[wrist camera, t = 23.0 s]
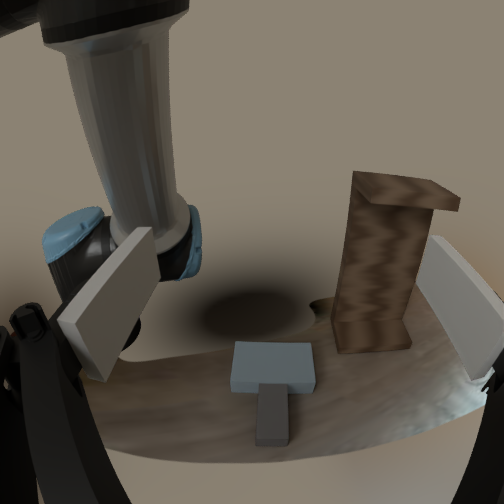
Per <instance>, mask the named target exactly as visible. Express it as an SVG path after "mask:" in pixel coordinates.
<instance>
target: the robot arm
mask: <svg viewBox="0 0 504 504" xmlns="http://www.w3.org/2000/svg"><path fill="white" fill-rule="evenodd" d="M188 10H189V0H0V38H1V37H3V36H5V35H8V34H10V33H12V32H15V31H17V30H19V29H23V28H25V27H27V26H29V25H32V24H34V23H37V22H40V26H41V31H42V37H43V42H44V45H45V46H46V47H49V48H52V49H54V50H57V51H59V52H62V53H63V54H64V55H65V56H66V61H67V66H68V70H69V75H70V79H71V84H72V88H73V92H74V96H75V99H76V104H77V107H78V111H79V115H80V118H81V122H82V125H83V128H84V132H85V135H86V138H87V141H88V144H89V147H90V151H91V154H92V157H93V159H94V162H95V165H96V168H97V171H98V174H99V176H100V179H101V182H102V184H103V187H104V190H105V192H106V195H107V198H108V200H109V203H110V205H111V208H112V210H113V213H112V216H104V212H103V211H102V209H101V208H100V207H87V208H84V209H81V210H78V211H75V212H73V213H71V214H69V215H67V216H65V217H63V218H61V219H59V220H58V221H56V222H55V223H54V224H53V225H51V226H50V227H49V228H48V229H47V230H46V232H45V233H44V235H43V238H42V245H43V250H44V254H45V258H46V263H47V264H48V267H49V269H50V272H51V275H52V277H53V280H54V283H55V285H56V288H57V290H58V293H59V295H60V297H61V300H62V302H63V303H62V304H61V306H60V307H59V308H58V309H57V310H56V312H55V313H54V314H53V315H52V317H51V318H50V319H49V320H47V318H46V316H45V314H44V312H43V310H42V307H41V306H40V305H39V304H38V303H33V302H32V303H27V304H25V305H23V306H20V307H19V308H18V309H16V310H15V311H14V312H13V314H12V315H11V317H10V320H9V322H10V324H11V326H12V327H13V329H14V331H15V333H16V334H17V336H14V337H11V336H10V334H9V332H8V331H7V329H6V328H5V327H4V326H0V504H39V502H38V492H37V480H38V484H39V487H40V490H41V494H42V497H43V500H44V503H45V504H132V503H131V502H130V500H129V498H128V496H127V494H126V492H125V490H124V488H123V487H122V485H121V483H120V481H119V479H118V477H117V475H116V472H115V470H114V468H113V466H112V464H111V462H110V459H109V457H108V455H107V452H106V450H105V448H104V445H103V443H102V440H101V438H100V435H99V432H98V430H97V427H96V424H95V422H94V419H93V416H92V413H91V410H90V407H89V404H88V401H87V397H86V394H85V391H84V387H83V384H82V380H81V379H80V377H79V375H78V374H79V372H80V370H81V369H82V368H83V369H84V371H85V373H86V374H87V376H88V378H91V379H95V380H99V381H102V382H106V381H107V379H108V377H109V375H110V373H111V371H112V369H113V367H114V365H115V363H116V360H117V358H118V356H119V355H120V353H121V351H123V350H125V349H126V348H127V347H129V346H130V345H131V344H132V343H133V342H134V341H135V340H136V338H137V336H138V335H139V332H140V329H141V321H140V318H139V316H140V314H141V312H142V311H143V309H144V307H145V305H146V303H147V302H148V300H149V298H150V296H151V294H152V292H153V291H154V289H155V287H156V285H157V284H158V282H164V281H171V280H174V281H180V280H182V279H184V278H190V277H193V276H195V275H196V274H197V273H198V272H199V269H200V266H201V260H202V250H201V246H202V234H201V223H200V218H199V213H198V210H197V208H196V207H195V206H193V205H188V204H187V203H186V201H185V200H184V198H183V197H182V196H181V195H179V194H178V193H177V192H176V181H175V170H174V159H173V147H172V134H171V118H170V96H169V50H168V48H169V40H168V39H169V38H168V37H169V29H170V28H171V26H172V25H173V24H174V23H175V22H176V21H178V20H179V19H180V18H181V17H182V16H184V15H185V14H186V13H187V12H188ZM416 284H417V286H418V287H419V289H420V290H421V292H422V293H423V295H424V297H425V298H426V300H427V301H428V303H429V305H430V306H431V308H432V309H433V311H434V313H435V314H436V316H437V318H438V319H439V321H440V323H441V324H442V326H443V328H444V330H445V331H446V333H447V335H448V337H449V338H450V340H451V342H452V344H453V346H454V348H455V349H456V351H457V353H458V355H459V357H460V359H461V361H462V363H463V365H464V367H465V369H466V371H467V373H468V375H469V377H470V379H471V381H472V380H476V379H479V378H482V377H484V376H485V375H486V374H487V372H488V371H489V370H490V368H491V367H493V369H494V370H495V372H494V373H493V375H492V376H491V377H490V379H489V380H488V381H487V383H486V384H485V385H484V387H483V388H482V390H481V392H483V391H484V390H485V389H486V388H487V387H489V390H488V391H487V392H486V394H488V395H487V400H486V404H485V409H484V413H483V417H482V422H481V425H480V428H479V432H478V435H477V439H476V442H475V445H474V448H473V451H472V454H471V457H470V460H469V463H468V465H467V468H466V470H465V473H464V475H463V478H462V480H461V483H460V485H459V487H458V489H457V492H456V494H455V496H454V498H453V500H452V502H451V504H504V302H503V301H501V298H500V297H499V296H498V295H497V293H496V292H495V291H493V290H492V289H491V288H490V286H489V285H488V284H487V283H486V282H485V281H484V280H483V278H482V277H481V276H480V275H479V274H478V273H477V272H476V271H475V270H474V269H473V267H472V266H471V265H470V264H469V263H468V262H467V261H466V260H465V259H464V258H463V257H462V256H461V255H460V254H459V253H458V252H457V251H456V250H455V249H454V248H453V247H452V246H451V245H450V244H449V243H448V242H447V241H446V240H445V239H444V238H443V237H442V236H436V235H429V239H428V243H427V246H426V250H425V254H424V257H423V261H422V264H421V268H420V271H419V274H418V277H417V280H416ZM4 379H5V380H6V381H7V383H8V384H9V385H8V389H5V387H4ZM36 477H37V480H36Z"/></svg>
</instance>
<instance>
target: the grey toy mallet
mask: <svg viewBox="0 0 504 504" xmlns="http://www.w3.org/2000/svg"><path fill="white" fill-rule="evenodd" d="M315 383H316V380H315V372H314V364H313V356H312V348H311V343H268V342H240V341H237V342H235V349H234V357H233V364H232V371H231V379H230V384H231V392H241V393H258V408H257V425H256V446H287V444H288V440H289V427H288V394H303V393H313V390H314V387H315Z"/></svg>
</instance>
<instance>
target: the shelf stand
mask: <svg viewBox="0 0 504 504" xmlns="http://www.w3.org/2000/svg"><path fill="white" fill-rule="evenodd" d="M350 196H351V197H350V204H349V213H348V220H347V228H346V235H345V242H344V248H343V255H342V261H341V267H340V273H339V278H338V284H337V289H336V294H335V300H334V305H333V309H332V314H331V323H332V328H333V333H334V337H335V342H336V347H337V352H338V354H342V353H362V352H377V351H389V350H400V349H410V347H411V345H412V341H411V339H410V337H409V334H408V332H407V330H406V328H405V326H404V324H403V322H402V320H401V319H402V317H403V314H404V311H405V309H406V306H407V303H408V300H409V297H410V294H411V292H412V289H413V285H414V282H415V279H416V276H417V273H418V270H419V266H420V263H421V259H422V256H423V252H424V249H425V245H426V241H427V237H428V233H429V228H430V225H431V220H432V216H433V211H434V209H439V210H448V211H456V212H458V209H459V204H460V199H461V198H460V197H458V196H457V195H455V194H453V193H452V192H450V191H449V190H447V189H445V188H443V187H441V186H440V185H438V184H437V183H435V182H433V181H432V180H427V179H420V178H413V177H405V176H398V175H389V174H380V173H371V172H360V171H353V176H352V186H351V195H350Z"/></svg>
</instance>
